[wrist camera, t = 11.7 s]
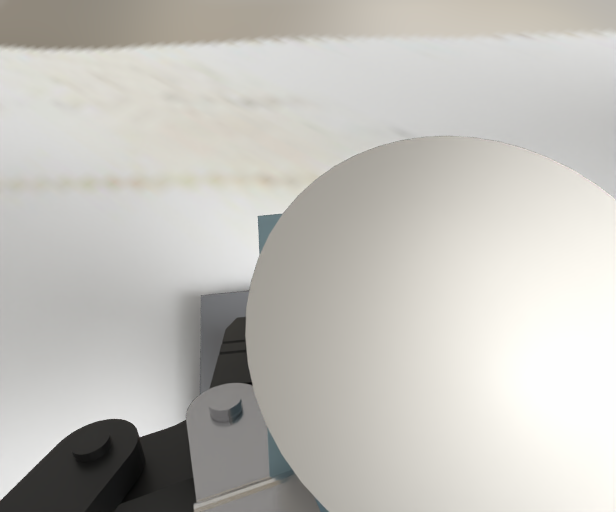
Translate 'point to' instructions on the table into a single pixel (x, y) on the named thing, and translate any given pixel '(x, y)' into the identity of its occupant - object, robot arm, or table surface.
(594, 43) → the table surface
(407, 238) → the ball-topped blue post
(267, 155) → the table surface
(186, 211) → the table surface
